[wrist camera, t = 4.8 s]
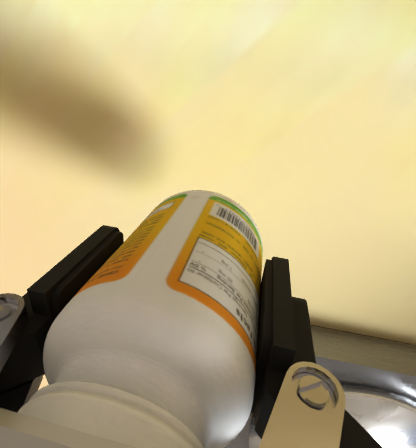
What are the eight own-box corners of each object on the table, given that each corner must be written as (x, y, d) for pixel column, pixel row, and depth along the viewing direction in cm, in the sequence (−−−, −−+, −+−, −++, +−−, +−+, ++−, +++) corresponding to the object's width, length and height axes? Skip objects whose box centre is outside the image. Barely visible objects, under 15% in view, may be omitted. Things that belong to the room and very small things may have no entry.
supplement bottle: (152, 281, 15) (-11, 552, 6) (143, 182, 12) (-142, 404, 4) (257, 296, 14) (231, 639, 5) (270, 192, 11) (260, 517, 3)
